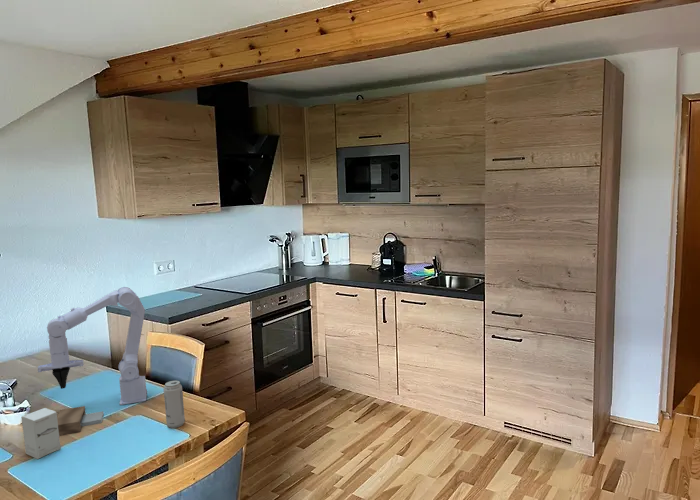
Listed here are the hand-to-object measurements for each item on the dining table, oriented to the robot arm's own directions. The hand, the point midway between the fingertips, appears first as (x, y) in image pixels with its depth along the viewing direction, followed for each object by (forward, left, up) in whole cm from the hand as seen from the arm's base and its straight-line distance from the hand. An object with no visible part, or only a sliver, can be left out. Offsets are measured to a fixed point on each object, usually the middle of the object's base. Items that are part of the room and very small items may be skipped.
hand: (63, 387), depth 188 cm
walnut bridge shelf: (-3, +11, -10) cm, 15 cm away
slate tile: (-7, +10, -11) cm, 16 cm away
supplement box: (+2, +28, -11) cm, 30 cm away
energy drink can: (-38, +26, -11) cm, 47 cm away
